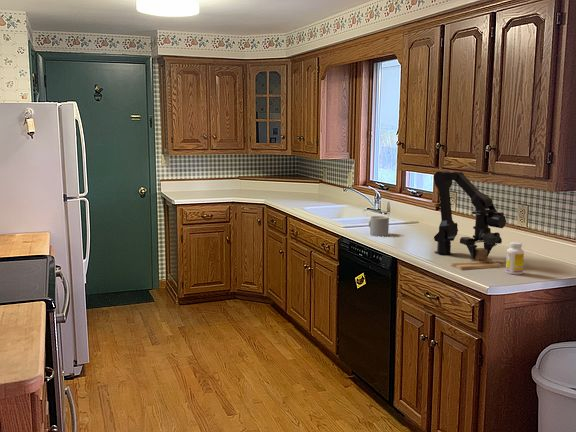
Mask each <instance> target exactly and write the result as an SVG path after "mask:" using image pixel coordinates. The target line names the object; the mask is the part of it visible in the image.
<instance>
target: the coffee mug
mask: <svg viewBox="0 0 576 432" xmlns="http://www.w3.org/2000/svg"><path fill="white" fill-rule="evenodd" d="M389 224H390V217H388V216H385V215H371V216H370V219H369V220H368V227H369V229H370V232H369V235H370V236H372V237H378V236H379V237H382V236H384V237H388V236H389V230H390V229H389V226H390V225H389Z"/></svg>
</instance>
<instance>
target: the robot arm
mask: <svg viewBox="0 0 576 432" xmlns="http://www.w3.org/2000/svg"><path fill="white" fill-rule="evenodd" d="M433 181H434V184H435V187H436V188H437V190H438V195H439V197H438V198H439V205H440V207H439V208H440V216H441V221H440V223H439V226H438V232H437V233H436V234H435V235H433V240H434V241H435V242H437V246H436V248H437V249H436V250H435V251H434V253H435V254H437V255H441V256H448V255H453V254H454V253H453V252H451V248H452V245H451V243H452V242H454V241H455V238H456V237H457V235H458V232H459V229H458V222H455V221H454V220H453V215H452V213H453V212H452V202H451V192H450V189H451V187H452V184H453V181H455V183H456V184H457V185H458V186H459V187H460V188H461V189H462V190H463V191H464V193H466V195H468V196H469V198H470V200H471V204H472V205H473V206H474V208H475V209H474V210H473V211H472V212H471V214H472V215H475V223H474V226H473V227H472V229H473V230H474V234H473V235H472V237H470V236H462V237H460V239H459V244H461V245H464V246H466V248H467V250H468V252H469V253H470V254H469V255H470V257H471V260H472V259H473V260H474V259H475V250H476V248H478V245H476V244H477V243H483V248H484V249H487V250H488V254H487V258H488V257H489V255H490V253H491V251H492V249H493V248H494V247H495V246H497V244H498V245H499V244H502V242H503V239H502V237H501V234H500V232H499V231H498V232H492V231H491V227H492V228H497V229H504V228H505V226H506V224H507V219H506V216H505V215H504V212H501V211H500V212H498V211H497V209H496V207H495V205H494V203H493V199H492V198H491V197H490V196H488V195H487V194H485V193H484V192H481V191H480V190H478V188H477V187H476V186H475V185H474V184H473V183H472V181H470V180H469V179H468V177H466V175H465V174H464V172H462V171H453V172H450V171H449V170H439V171H436V172H435V173H434V174H433Z"/></svg>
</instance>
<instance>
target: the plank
mask: <svg viewBox="0 0 576 432" xmlns="http://www.w3.org/2000/svg"><path fill="white" fill-rule="evenodd" d="M450 266H451V267H453V268H456V269H459V270H461V271H462V270H463V271H464V270H474V269H476V270H477V269H488V268H499V267H501V263H499V262H495V261H493V262H491V263H489V262H486V261H472V260H471V261H459V262H458V261H456V262H450Z"/></svg>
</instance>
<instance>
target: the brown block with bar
mask: <svg viewBox="0 0 576 432" xmlns="http://www.w3.org/2000/svg"><path fill="white" fill-rule="evenodd" d="M487 254H488V250H487V249H484V247H476V250H475V259H474V260H473V259H472V258H471V261H486V262H489V263H491V262H494V260H493V259H491V258H488V257H487Z"/></svg>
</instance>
